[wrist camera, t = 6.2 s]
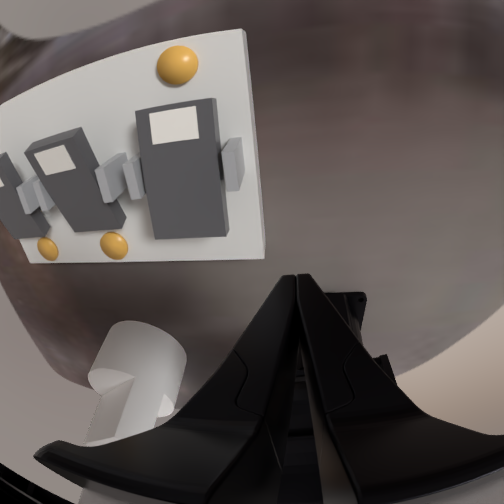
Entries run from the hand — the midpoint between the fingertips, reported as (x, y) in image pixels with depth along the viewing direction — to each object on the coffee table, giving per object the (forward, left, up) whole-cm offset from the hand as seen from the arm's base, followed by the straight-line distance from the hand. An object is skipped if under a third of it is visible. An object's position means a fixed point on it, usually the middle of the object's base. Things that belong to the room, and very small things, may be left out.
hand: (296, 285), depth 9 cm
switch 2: (+1, +12, -7) cm, 14 cm away
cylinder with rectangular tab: (-19, +15, -12) cm, 27 cm away
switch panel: (+1, +12, -11) cm, 17 cm away
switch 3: (+1, +5, -7) cm, 9 cm away
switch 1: (+1, +19, -7) cm, 21 cm away
